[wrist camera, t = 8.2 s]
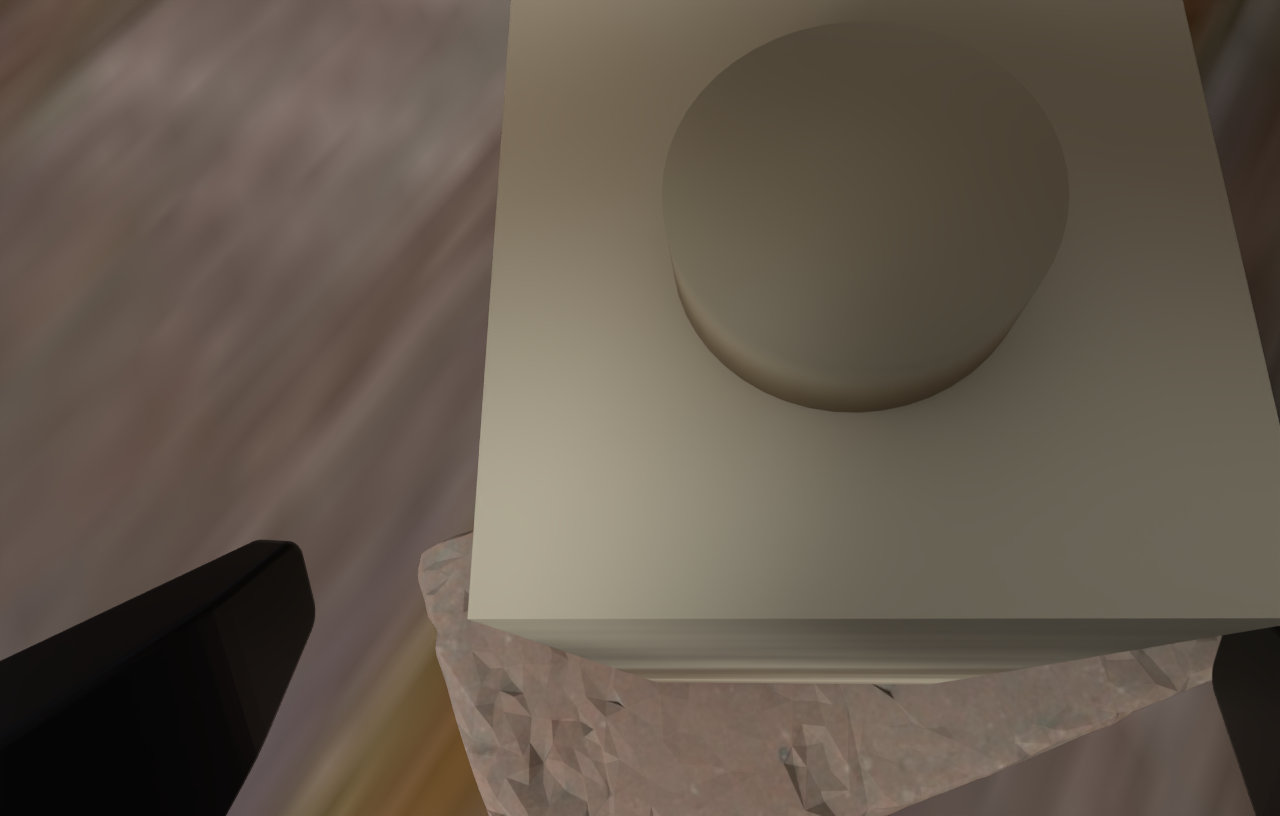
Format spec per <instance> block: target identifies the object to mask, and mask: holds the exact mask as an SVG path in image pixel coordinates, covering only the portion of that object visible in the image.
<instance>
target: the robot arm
mask: <svg viewBox="0 0 1280 816" xmlns="http://www.w3.org/2000/svg"><path fill="white" fill-rule="evenodd" d="M314 620H315V603H314V598H313V594H312V590H311V586H310V582H309V578H308V574H307V569H306V565H305V561H304V557H303V554H302V551H301V549H300V548H299V546H298V545H297V544H295V543H293V542H291V541H277V540H256V541H253V542H251V543H249V544H247V545H245V546H242V547H240V548H238V549H236V550H234V551H232V552H230V553H228V554H226V555H223V556H221V557H219V558H217V559H215V560H213V561H211V562H209V563H206V564H204V565H202V566H200V567H198V568H196V569H194V570H192V571H190V572H187V573H185V574H183V575H181V576H179V577H177V578H175V579H173V580H171V581H168V582H166V583H164V584H162V585H160V586H158V587H156V588H154V589H152V590H149V591H147V592H145V593H143V594H141V595H139V596H137V597H135V598H133V599H130V600H128V601H126V602H124V603H122V604H120V605H118V606H116V607H113V608H111V609H109V610H107V611H105V612H103V613H101V614H99V615H97V616H94V617H92V618H90V619H88V620H86V621H84V622H82V623H80V624H78V625H75V626H73V627H71V628H69V629H67V630H65V631H63V632H61V633H59V634H56V635H54V636H52V637H50V638H48V639H46V640H44V641H42V642H39V643H37V644H35V645H33V646H31V647H29V648H27V649H25V650H23V651H20V652H18V653H16V654H14V655H12V656H10V657H8V658H6V659H4V660H1V661H0V816H226V815H227V813H228V811H229V809H230V808H231V806H232V804H233V802H234V800H235V799H236V797H237V795H238V793H239V791H240V789H241V788H242V786H243V784H244V782H245V780H246V778H247V776H248V775H249V773H250V771H251V769H252V767H253V765H254V763H255V761H256V759H257V757H258V755H259V753H260V751H261V748H262V746H263V744H264V742H265V740H266V738H267V735H268V733H269V731H270V728H271V726H272V724H273V721H274V719H275V716H276V714H277V712H278V709H279V707H280V705H281V702H282V700H283V697H284V695H285V693H286V690H287V688H288V686H289V683H290V681H291V678H292V676H293V674H294V671H295V669H296V667H297V664H298V662H299V659H300V657H301V655H302V652H303V650H304V648H305V645H306V643H307V640H308V638H309V636H310V633H311V631H312V628H313V624H314ZM1212 684H1213V690H1214V693H1215V696H1216V699H1217V702H1218V705H1219V708H1220V711H1221V714H1222V717H1223V720H1224V723H1225V726H1226V729H1227V732H1228V735H1229V738H1230V741H1231V744H1232V747H1233V750H1234V753H1235V756H1236V759H1237V762H1238V765H1239V768H1240V771H1241V774H1242V777H1243V779H1244V782H1245V785H1246V788H1247V791H1248V794H1249V797H1250V800H1251V803H1252V806H1253V809H1254V812H1255V815H1256V816H1280V626H1275V627H1269V628H1263V629H1257V630H1251V631H1245V632H1239V633H1233V634H1227V635H1222V637H1221V640H1220V643H1219V646H1218V650H1217V653H1216V656H1215V659H1214V663H1213V667H1212Z"/></svg>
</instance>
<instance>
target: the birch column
mask: <svg viewBox="0 0 1280 816" xmlns="http://www.w3.org/2000/svg"><path fill="white" fill-rule="evenodd" d="M467 619H469V620H472V621H475V622H478V623H481V624H484V625H487V626H490V627H493V628H496V629H499V630H502V631H505V632H508V633H511V634H514V635H517V636H520V637H523V638H526V639H529V640H532V641H535V642H538V643H541V644H544V645H547V646H550V647H553V648H556V649H559V650H562V651H565V652H568V653H571V654H574V655H577V656H579V657H582V658H585V659H588V660H591V661H594V662H597V663H600V664H603V665H606V666H609V667H612V668H615V669H618V670H621V671H624V672H627V673H630V674H633V675H636V676H639V677H642V678H645V679H648V680H651V681H654V682H662V683H799V684H936V683H942V682H948V681H954V680H960V679H966V678H972V677H978V676H983V675H989V674H995V673H1001V672H1007V671H1013V670H1019V669H1025V668H1031V667H1037V666H1043V665H1049V664H1055V663H1061V662H1067V661H1073V660H1079V659H1085V658H1091V657H1096V656H1102V655H1108V654H1114V653H1120V652H1126V651H1132V650H1138V649H1144V648H1150V647H1156V646H1162V645H1168V644H1174V643H1180V642H1186V641H1192V640H1198V639H1203V638H1209V637H1215V636H1221V635H1227V634H1233V633H1239V632H1245V631H1251V630H1257V629H1263V628H1269V627H1275V626H1280V424H1279V419H1278V415H1277V411H1276V406H1275V402H1274V398H1273V393H1272V389H1271V384H1270V380H1269V376H1268V371H1267V367H1266V363H1265V358H1264V354H1263V350H1262V345H1261V341H1260V336H1259V332H1258V328H1257V323H1256V319H1255V315H1254V310H1253V306H1252V301H1251V297H1250V293H1249V288H1248V284H1247V280H1246V275H1245V271H1244V266H1243V262H1242V258H1241V253H1240V249H1239V245H1238V240H1237V236H1236V231H1235V227H1234V223H1233V218H1232V214H1231V210H1230V205H1229V201H1228V196H1227V192H1226V188H1225V183H1224V179H1223V175H1222V170H1221V166H1220V161H1219V157H1218V153H1217V148H1216V144H1215V140H1214V135H1213V131H1212V126H1211V122H1210V118H1209V113H1208V109H1207V105H1206V100H1205V96H1204V92H1203V87H1202V83H1201V78H1200V74H1199V70H1198V65H1197V61H1196V57H1195V52H1194V48H1193V43H1192V39H1191V35H1190V30H1189V26H1188V22H1187V17H1186V13H1185V8H1184V4H1183V0H511V10H510V24H509V38H508V52H507V67H506V81H505V95H504V109H503V123H502V137H501V151H500V166H499V180H498V194H497V208H496V222H495V236H494V250H493V264H492V279H491V293H490V307H489V321H488V335H487V349H486V363H485V378H484V392H483V406H482V420H481V434H480V448H479V462H478V477H477V491H476V505H475V519H474V533H473V547H472V561H471V576H470V590H469V604H468V618H467Z"/></svg>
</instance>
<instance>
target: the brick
mask: <svg viewBox="0 0 1280 816" xmlns="http://www.w3.org/2000/svg"><path fill="white" fill-rule="evenodd" d="M473 533H474V531H471V532H467V533H463V534H460V535H456V536H454V537H452V538H449V539H447V540H445V541H443V542H441V543H439V544H437V545H435V546H434V547H432V548H430V549H429V550H427V551H425V552H424V553H422V555H421V560H420V564H419V569H418V579H419V585H420V588H421V591H422V594H423V597H424V600H425V604H426V609H427V615H428V617H429V618H430V620H431V621H432V623H433V624H434V626H435V627H436V629H437V630H438V631H437V640H436V655H437V658H438V661H439V664H440V667H441V669H442V672H443V675H444V678H445V681H446V684H447V688H448V692H449V695H450V699H451V703H452V706H453V710H454V714H455V717H456V721H457V724H458V727H459V731H460V734H461V737H462V740H463V743H464V746H465V749H466V752H467V756H468V759H469V762H470V765H471V768H472V771H473V773H474V776H475V779H476V782H477V785H478V788H479V791H480V793H481V795H482V798H483V800H484V803H485V805H486V808H487V811H488V814H489V816H888V815H890V814H892V813H894V812H897V811H899V810H901V809H903V808H905V807H908V806H910V805H913V804H915V803H918V802H920V801H923V800H925V799H928V798H930V797H933V796H936V795H938V794H941V793H944V792H946V791H949V790H952V789H954V788H957V787H959V786H962V785H964V784H967V783H969V782H971V781H974V780H977V779H981V778H984V777H987V776H989V775H992V774H994V773H996V772H998V771H1000V770H1002V769H1005V768H1007V767H1009V766H1012V765H1014V764H1017V763H1019V762H1022V761H1024V760H1027V759H1029V758H1032V757H1034V756H1036V755H1039V754H1041V753H1043V752H1046V751H1048V750H1050V749H1053V748H1055V747H1058V746H1060V745H1062V744H1064V743H1067V742H1069V741H1071V740H1074V739H1076V738H1079V737H1081V736H1083V735H1085V734H1088V733H1090V732H1093V731H1095V730H1098V729H1101V728H1104V727H1106V726H1109V725H1112V724H1115V723H1116V722H1118V721H1119V720H1121V719H1122V718H1124V717H1125V716H1127V715H1128V714H1130V713H1131V712H1134V711H1136V710H1139V709H1141V708H1144V707H1146V706H1149V705H1151V704H1154V703H1157V702H1159V701H1162V700H1164V699H1167V698H1169V697H1171V696H1173V695H1175V694H1178V693H1180V692H1183V691H1186V690H1188V689H1191V688H1193V687H1195V686H1198V685H1200V684H1203V683H1205V682H1208V681H1210V680H1212V667H1213V663H1214V659H1215V656H1216V653H1217V650H1218V646H1219V643H1220V640H1221V637H1222V635H1221V636H1215V637H1209V638H1203V639H1198V640H1192V641H1186V642H1180V643H1174V644H1168V645H1162V646H1156V647H1150V648H1144V649H1138V650H1132V651H1126V652H1120V653H1114V654H1108V655H1102V656H1096V657H1091V658H1085V659H1079V660H1073V661H1067V662H1061V663H1055V664H1049V665H1043V666H1037V667H1031V668H1025V669H1019V670H1013V671H1007V672H1001V673H995V674H989V675H983V676H978V677H972V678H966V679H960V680H954V681H948V682H942V683H936V684H799V683H662V682H654V681H651V680H648V679H645V678H642V677H639V676H636V675H633V674H630V673H627V672H624V671H621V670H618V669H615V668H612V667H609V666H606V665H603V664H600V663H597V662H594V661H591V660H588V659H585V658H582V657H579V656H577V655H574V654H571V653H568V652H565V651H562V650H559V649H556V648H553V647H550V646H547V645H544V644H541V643H538V642H535V641H532V640H529V639H526V638H523V637H520V636H517V635H514V634H511V633H508V632H505V631H502V630H499V629H496V628H493V627H490V626H487V625H484V624H481V623H478V622H475V621H472V620H469V619H467V618H468V604H469V590H470V576H471V561H472V547H473Z"/></svg>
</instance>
